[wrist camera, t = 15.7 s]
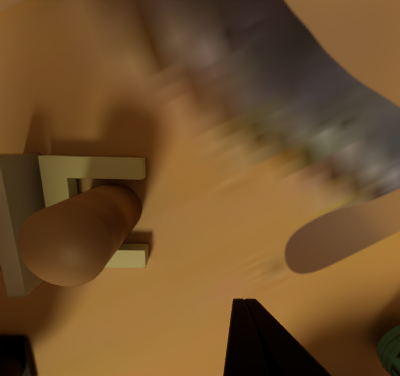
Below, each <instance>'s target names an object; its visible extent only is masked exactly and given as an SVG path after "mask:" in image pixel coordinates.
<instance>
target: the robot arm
mask: <svg viewBox="0 0 400 376" xmlns="http://www.w3.org/2000/svg"><path fill="white" fill-rule="evenodd" d="M0 376H35V375H34V370H33V365H32V361H31V356H30V351H29V346H28V341H27V338H26V337H24V336H0ZM223 376H332V375H331V374H330V373H329V372H328V371H327V370H326V369H325V368H324V367H323V366H322V365H321V364H320V363H319V362H318V361H317V360H316V359H315V358H314V357H313V356H312V355H311V354H310V353H309V352H308V351H307V350H306V349H305V348H304V347H303V346H302V345H301V344H300V343H299V342H298V341H297V340H296V339H295V338H294V337H293V336H292V335H291V334H290V333H289V332H288V331H287V330H286V329H285V328H284V327H283V326H282V325H281V324H280V323H279V322H278V321H277V320H276V319H275V318H274V317H273V316H272V315H271V314H270V313H269V312H268V311H267V310H266V309H265V308H264V307H263V306H262V305H261V304H260V303H259V302H258V301H257V300H256V299H245V300H244V299H233V303H232V311H231V319H230V327H229V335H228V343H227V350H226V358H225V366H224V374H223Z"/></svg>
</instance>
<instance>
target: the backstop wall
mask: <svg viewBox="0 0 400 376" xmlns="http://www.w3.org/2000/svg"><path fill="white" fill-rule="evenodd" d="M38 156H40V154H38V153H12V154H0V265H1V270H2V274H3V279H4V283H5V288H6V292H7V297H26V296H28V295H29V294H30V293H31V292H32V291H33V290H34V289H35V288H36V287H38V286H39V285H40V284H41V283H42V282H43V281H44V280H42V279H41V278H39V277H37V276H36V275H35V274H34V273H32V272H31V271H30V270H29V269H28V267H27V266H26V265H25V263H24V262H23V260H22V258H21V256H20V253H19V250H18V234H19V231H20V228H21V226H22V224H23V223H24V222H25V220H26V219H27V218H28V217H29V216H31V215H32V214H33V213H35V212H37V211H39V210H41V209H44V208H46V206H45V200H44V193H43V187H42V180H41V173H40V167H39V160H38Z"/></svg>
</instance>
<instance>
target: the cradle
mask: <svg viewBox="0 0 400 376" xmlns="http://www.w3.org/2000/svg"><path fill="white" fill-rule="evenodd" d="M38 160H39V167H40V173H41V180H42V187H43V193H44V200H45V206H46V207H49V206H51V205H54V204H56V203H59V202H61V201H63V200H66V199H68V198H71V197H73V196H76V195H78V190H77V182H76V178H92V179H136V180H143V179H144V178H146V165H145V158H137V157H100V156H64V155H43V156H38ZM148 260H149V259H148V244H121V246H120V247H119V248H118V250H117V251H116V252H115V254H114V255H113V256H112V258H111V259H110V260H109V262H108V263H107V265H106V266H105V267H127V268H146V265H147V262H148Z"/></svg>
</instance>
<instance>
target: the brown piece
mask: <svg viewBox="0 0 400 376" xmlns="http://www.w3.org/2000/svg"><path fill="white" fill-rule="evenodd" d="M140 216H141V203H140V200H139V198H138V197H137V195H136V194H135V193H134V191H133V190H131V189H130V188H129V187H127V186H125V185H123V184H119V183H106V184H103V185H100V186H98V187H95V188H93V189H90V190H88V191H85V192H83V193H81V194H78V195H76V196H73V197H71V198H68V199H66V200H63V201H61V202H59V203H56V204H54V205H51V206H49V207H46V208H44V209H41V210H39V211H37V212H35V213H33V214H32V215H31V216H29V217H28V218H27V219H26V220H25V222H24V223H23V224H22V226H21V228H20V231H19V234H18V250H19V253H20V256H21V258H22V260H23V262H24V263H25V265H26V266H27V267H28V269H29V270H30V271H31V272H32V273H34V274H35V275H36V276H37V277H39V278H41V279H42V280H44V281H46V282H49V283H51V284H55V285H59V286H78V285H82V284H85V283H87V282H89V281H91V280H93V279H94V278H95V277H97V276H98V275H99V274H100V272H101V271H102V270H103V269H104V267H105V266H106V265H107V263H108V262H109V260H110V259H111V258H112V256H113V255H114V254H115V252H116V251H117V250H118V248H119V247H120V246H121V244H122V243H123V242H124V240H125V239H126V237H127V236H128V235H129V233H130V232H131V231H132V229H133V228H134V227H135V225H136V224H137V223H138V221H139V219H140Z"/></svg>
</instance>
